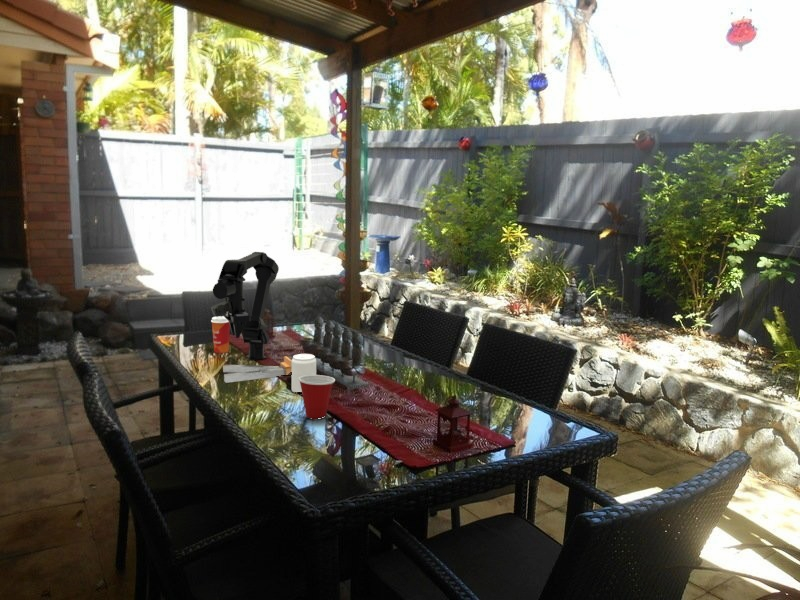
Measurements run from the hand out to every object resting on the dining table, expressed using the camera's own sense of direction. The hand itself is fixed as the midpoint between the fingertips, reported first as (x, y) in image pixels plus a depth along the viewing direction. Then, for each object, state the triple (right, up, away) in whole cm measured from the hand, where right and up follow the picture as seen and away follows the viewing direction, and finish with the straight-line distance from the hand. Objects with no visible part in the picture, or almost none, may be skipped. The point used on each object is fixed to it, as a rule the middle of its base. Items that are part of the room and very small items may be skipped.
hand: (235, 336), depth 240 cm
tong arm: (+7, -13, -3) cm, 15 cm away
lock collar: (+19, -13, -3) cm, 24 cm away
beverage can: (+28, -17, -23) cm, 40 cm away
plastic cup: (+36, -21, -46) cm, 62 cm away
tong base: (+9, -14, -9) cm, 19 cm away
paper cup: (-12, -8, +25) cm, 29 cm away
